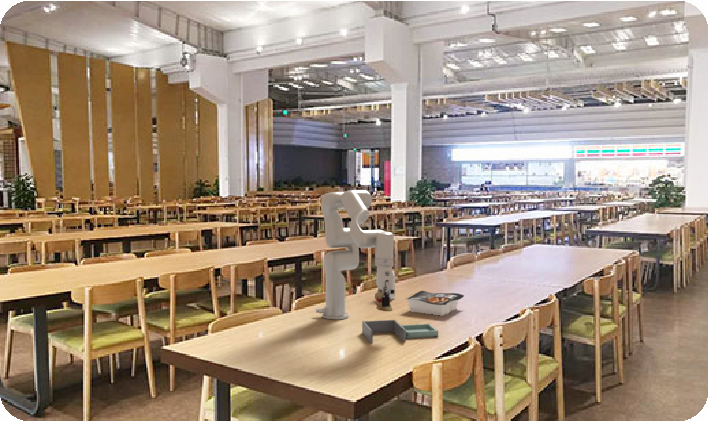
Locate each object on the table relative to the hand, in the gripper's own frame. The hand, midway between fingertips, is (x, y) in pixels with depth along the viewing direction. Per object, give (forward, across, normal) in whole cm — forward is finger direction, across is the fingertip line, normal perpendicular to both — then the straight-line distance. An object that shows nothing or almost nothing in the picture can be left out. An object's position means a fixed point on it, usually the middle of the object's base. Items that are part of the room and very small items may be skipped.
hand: (383, 303), depth 233 cm
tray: (+14, +2, -16) cm, 22 cm away
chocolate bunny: (+3, 0, 0) cm, 3 cm away
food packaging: (+15, +42, -37) cm, 58 cm away
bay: (+14, 0, 0) cm, 14 cm away
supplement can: (+16, +73, -21) cm, 78 cm away
